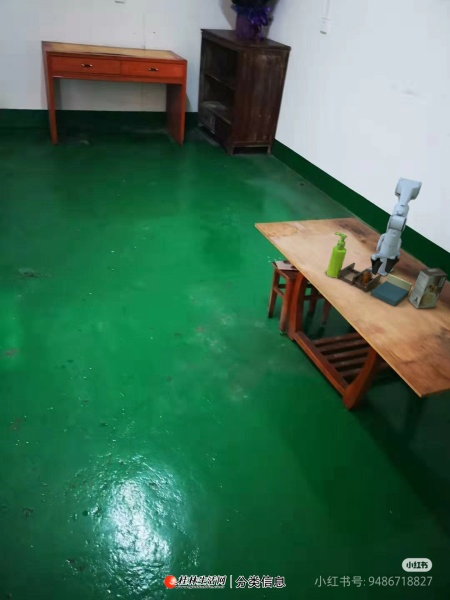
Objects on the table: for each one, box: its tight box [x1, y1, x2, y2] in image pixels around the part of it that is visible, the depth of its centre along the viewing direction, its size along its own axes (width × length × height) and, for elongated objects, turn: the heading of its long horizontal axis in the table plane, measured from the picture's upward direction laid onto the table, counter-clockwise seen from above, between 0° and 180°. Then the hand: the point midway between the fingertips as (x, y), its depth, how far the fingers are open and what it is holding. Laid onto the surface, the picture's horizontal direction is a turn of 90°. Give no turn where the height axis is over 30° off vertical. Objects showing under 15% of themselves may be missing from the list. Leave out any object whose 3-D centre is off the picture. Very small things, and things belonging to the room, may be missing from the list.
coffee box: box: [408, 267, 449, 309], centre depth 192 cm, size 9×6×16 cm
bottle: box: [359, 268, 374, 287], centre depth 204 cm, size 4×4×7 cm
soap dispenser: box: [326, 231, 348, 279], centre depth 205 cm, size 6×7×20 cm
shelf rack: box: [337, 262, 383, 293], centre depth 207 cm, size 13×14×4 cm
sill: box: [370, 273, 413, 307], centre depth 198 cm, size 14×11×6 cm
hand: (380, 273), depth 194 cm, fingers open, 7 cm apart
